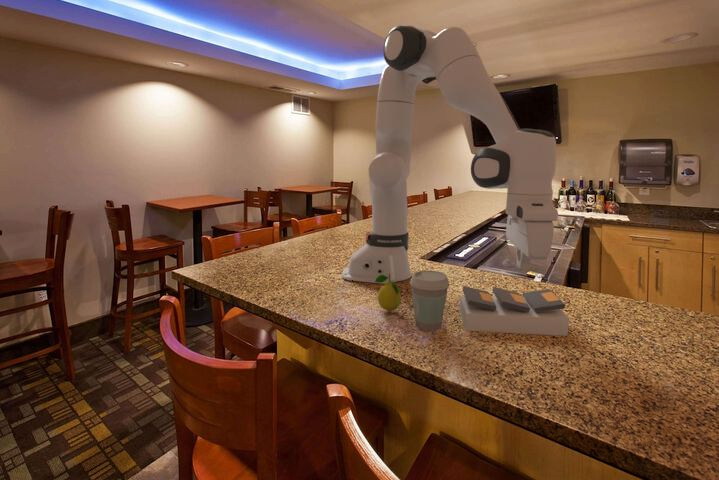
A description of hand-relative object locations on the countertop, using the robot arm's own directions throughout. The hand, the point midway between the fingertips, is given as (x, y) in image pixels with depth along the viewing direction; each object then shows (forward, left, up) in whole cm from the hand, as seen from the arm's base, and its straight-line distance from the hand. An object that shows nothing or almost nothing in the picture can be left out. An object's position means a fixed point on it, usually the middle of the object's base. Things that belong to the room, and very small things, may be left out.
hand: (522, 268), depth 82 cm
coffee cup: (-20, -4, -13) cm, 25 cm away
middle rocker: (-2, 0, -7) cm, 8 cm away
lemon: (-30, +2, -13) cm, 33 cm away
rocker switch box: (-2, 0, -13) cm, 13 cm away
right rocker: (+5, 0, -7) cm, 9 cm away
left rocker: (-9, 0, -7) cm, 12 cm away
